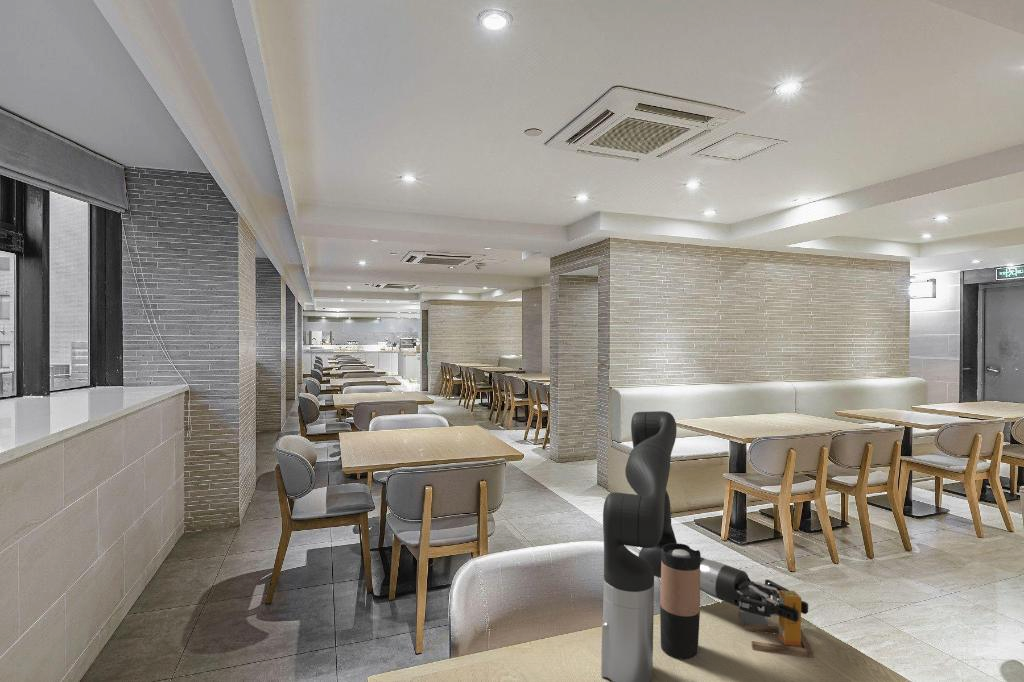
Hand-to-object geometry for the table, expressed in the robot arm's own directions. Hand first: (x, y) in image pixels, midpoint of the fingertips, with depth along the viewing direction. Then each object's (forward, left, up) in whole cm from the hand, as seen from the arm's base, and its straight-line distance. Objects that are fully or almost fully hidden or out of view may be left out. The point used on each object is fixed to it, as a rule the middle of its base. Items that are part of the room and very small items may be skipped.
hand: (802, 612), depth 108 cm
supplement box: (-2, +1, -7) cm, 8 cm away
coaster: (-7, +9, -8) cm, 14 cm away
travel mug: (-24, -6, -8) cm, 26 cm away
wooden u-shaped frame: (-5, +2, -8) cm, 9 cm away
